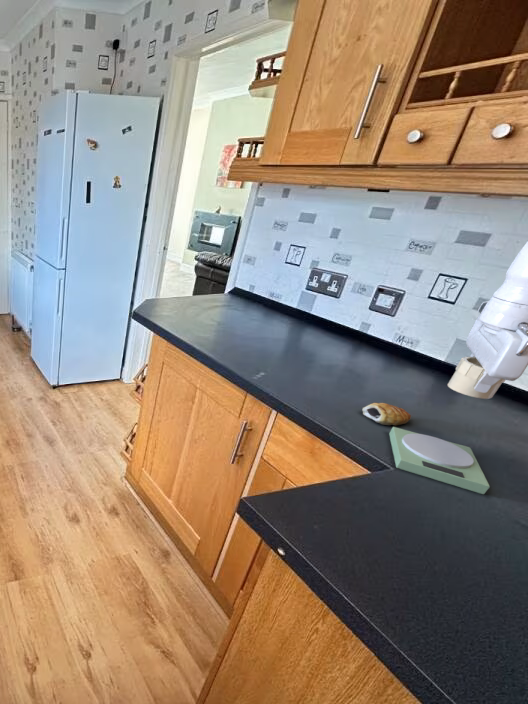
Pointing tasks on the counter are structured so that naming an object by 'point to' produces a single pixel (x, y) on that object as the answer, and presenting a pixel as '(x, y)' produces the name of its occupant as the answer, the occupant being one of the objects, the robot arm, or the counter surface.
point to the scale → (437, 460)
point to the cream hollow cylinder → (471, 379)
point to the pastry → (386, 414)
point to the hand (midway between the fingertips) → (474, 382)
